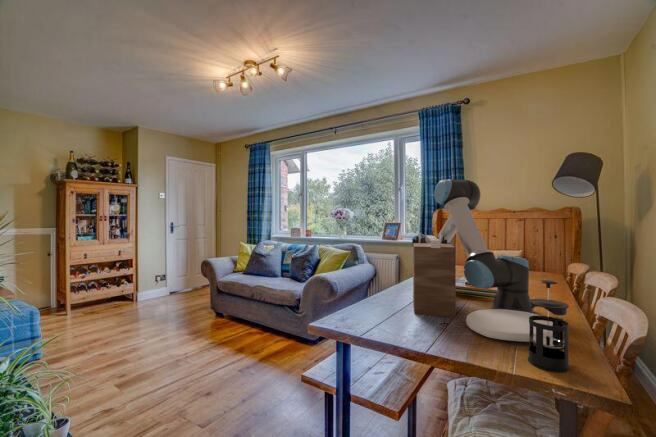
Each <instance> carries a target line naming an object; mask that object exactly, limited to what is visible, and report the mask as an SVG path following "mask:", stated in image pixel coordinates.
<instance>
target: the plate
mask: <svg viewBox="0 0 656 437" xmlns="http://www.w3.org/2000/svg"><path fill="white" fill-rule="evenodd" d="M530 316H542V315H540V314H538V313H537V314H536V313H534V312H533V313H529V312H523V311H516V310H506V309H493V308H486V309H485V308H484V309H478V310H475V311H472V312H470V313H468V314H467V315H466V317H465V318H466V319H465V323H466V326H467V327H468V328H469V329H471V330H472V331H473V332H475V333H478V334H479V335H482V336H484V337H487V338H491V339H495V340H499V341H500V340H501V341H509V342H520V343H521V342H524V343H525V342H526V343H529V335H530V324H529V317H530ZM534 322H537V323H540V324H544V325H547V321H544V320H534ZM549 325H550V326H553V322H551V321H549ZM533 335H536V327H534V326H533ZM543 335H544V336H547V330H544V329H543ZM549 336H550V337H553V331H549Z"/></svg>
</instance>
